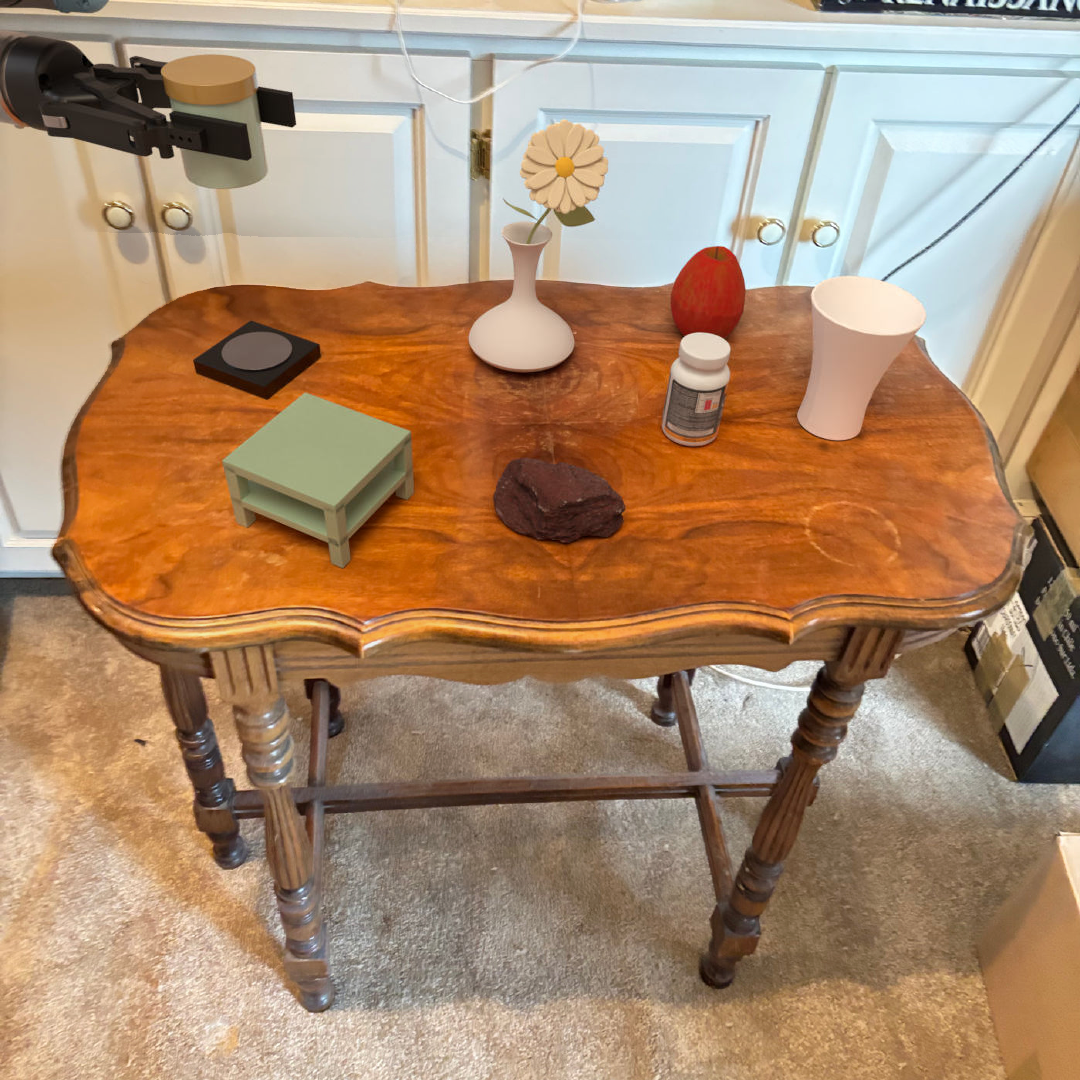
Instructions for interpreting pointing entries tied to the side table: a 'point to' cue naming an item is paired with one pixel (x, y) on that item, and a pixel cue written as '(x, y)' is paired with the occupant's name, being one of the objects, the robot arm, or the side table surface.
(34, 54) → the robot arm
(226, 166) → the jar
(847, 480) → the side table surface
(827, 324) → the cup
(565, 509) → the rock
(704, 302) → the apple
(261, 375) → the hot plate
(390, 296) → the side table surface
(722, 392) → the pill bottle
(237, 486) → the shelf
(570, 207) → the flower in vase
